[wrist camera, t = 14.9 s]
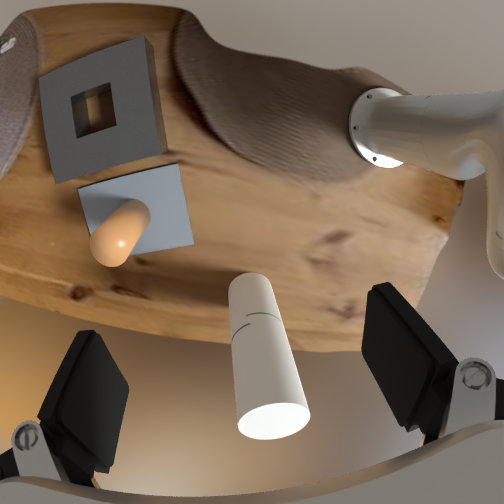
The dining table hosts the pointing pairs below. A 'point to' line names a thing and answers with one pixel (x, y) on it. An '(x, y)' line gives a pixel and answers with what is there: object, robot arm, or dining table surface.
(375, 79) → the dining table surface
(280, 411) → the cylindrical container
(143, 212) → the orange rounded cylinder
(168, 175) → the mat
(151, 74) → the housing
